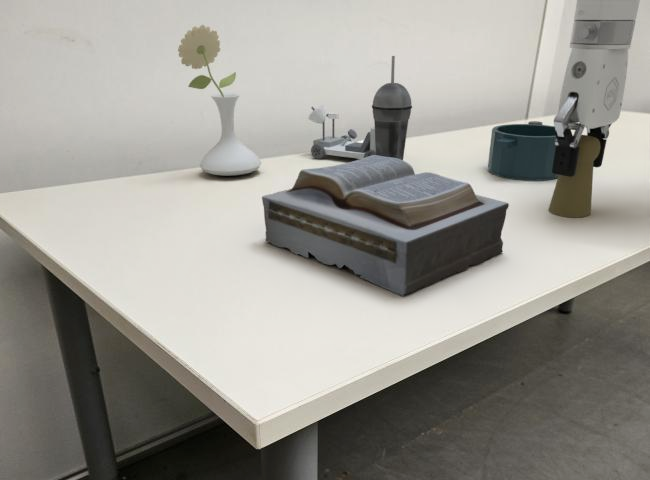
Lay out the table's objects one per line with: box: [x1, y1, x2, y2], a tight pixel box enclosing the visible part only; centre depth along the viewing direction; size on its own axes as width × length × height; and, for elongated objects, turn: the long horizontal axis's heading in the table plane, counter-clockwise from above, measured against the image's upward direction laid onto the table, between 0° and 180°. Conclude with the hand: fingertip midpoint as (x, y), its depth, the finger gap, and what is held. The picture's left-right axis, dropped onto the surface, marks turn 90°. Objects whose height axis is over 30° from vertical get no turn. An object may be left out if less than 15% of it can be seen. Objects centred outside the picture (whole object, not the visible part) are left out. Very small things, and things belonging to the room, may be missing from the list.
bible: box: [261, 155, 510, 298], centre depth 76 cm, size 23×27×10 cm
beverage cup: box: [371, 55, 413, 161], centre depth 110 cm, size 7×7×20 cm
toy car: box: [307, 105, 376, 160], centre depth 124 cm, size 18×10×12 cm
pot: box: [487, 123, 559, 182], centre depth 112 cm, size 14×19×8 cm
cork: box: [547, 134, 600, 218], centre depth 89 cm, size 6×6×11 cm
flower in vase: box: [177, 24, 262, 177], centre depth 108 cm, size 13×11×25 cm
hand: (576, 169), depth 89 cm, fingers open, 7 cm apart
